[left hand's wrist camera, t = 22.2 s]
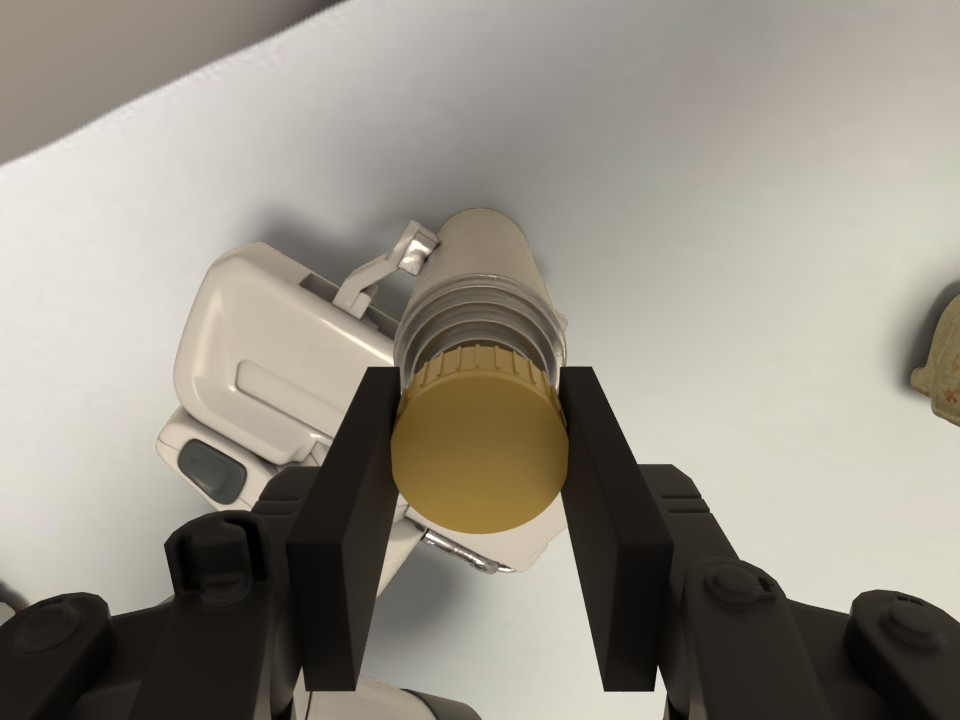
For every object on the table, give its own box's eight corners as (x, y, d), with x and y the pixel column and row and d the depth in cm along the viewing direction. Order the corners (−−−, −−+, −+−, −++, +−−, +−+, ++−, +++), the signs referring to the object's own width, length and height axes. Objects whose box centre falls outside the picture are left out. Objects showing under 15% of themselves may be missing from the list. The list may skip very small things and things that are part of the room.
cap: (391, 344, 14) (378, 374, 12) (564, 340, 14) (577, 370, 12) (402, 492, 15) (393, 538, 14) (560, 489, 15) (570, 535, 14)
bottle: (415, 278, 33) (324, 486, 14) (457, 189, 32) (423, 286, 12) (500, 320, 34) (527, 571, 15) (546, 236, 33) (644, 394, 13)
